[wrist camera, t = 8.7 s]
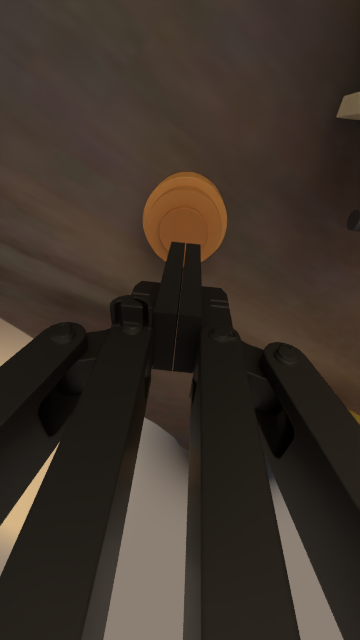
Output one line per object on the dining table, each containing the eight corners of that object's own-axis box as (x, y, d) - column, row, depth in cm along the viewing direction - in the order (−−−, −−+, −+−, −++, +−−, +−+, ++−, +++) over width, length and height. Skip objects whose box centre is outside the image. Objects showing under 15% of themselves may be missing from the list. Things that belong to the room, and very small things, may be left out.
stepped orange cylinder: (138, 232, 25) (125, 253, 20) (166, 155, 21) (157, 160, 16) (201, 262, 27) (202, 288, 22) (238, 195, 23) (249, 211, 18)
